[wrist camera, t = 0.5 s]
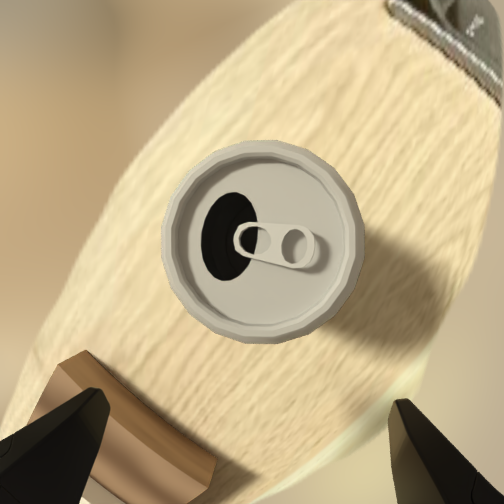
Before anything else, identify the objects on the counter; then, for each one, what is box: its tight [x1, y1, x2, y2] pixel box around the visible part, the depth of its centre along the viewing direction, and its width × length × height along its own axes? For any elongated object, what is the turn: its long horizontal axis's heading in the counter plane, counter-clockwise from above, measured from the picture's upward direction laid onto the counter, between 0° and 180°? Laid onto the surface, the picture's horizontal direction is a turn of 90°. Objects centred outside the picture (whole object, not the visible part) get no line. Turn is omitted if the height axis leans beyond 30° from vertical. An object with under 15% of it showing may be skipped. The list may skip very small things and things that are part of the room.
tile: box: [79, 476, 125, 504], centre depth 18 cm, size 6×9×2 cm, turn 51°
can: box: [161, 140, 365, 344], centre depth 16 cm, size 8×8×12 cm
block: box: [27, 350, 217, 504], centre depth 21 cm, size 20×14×4 cm
